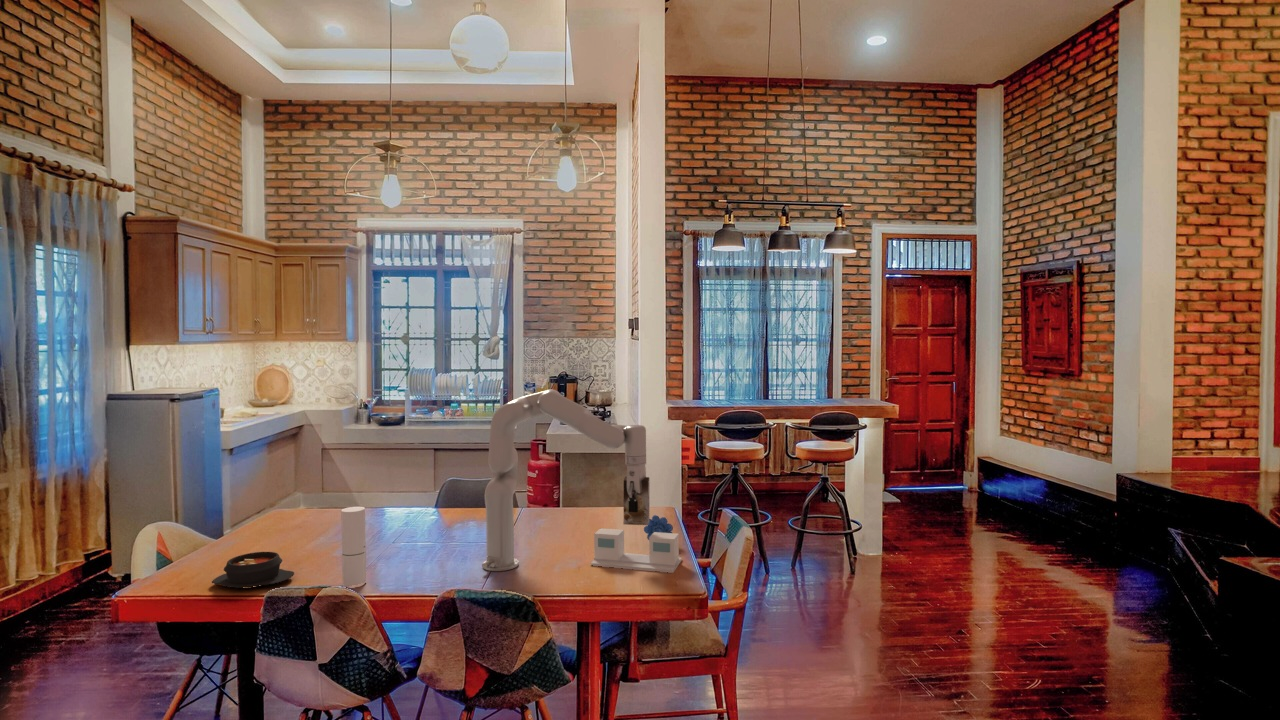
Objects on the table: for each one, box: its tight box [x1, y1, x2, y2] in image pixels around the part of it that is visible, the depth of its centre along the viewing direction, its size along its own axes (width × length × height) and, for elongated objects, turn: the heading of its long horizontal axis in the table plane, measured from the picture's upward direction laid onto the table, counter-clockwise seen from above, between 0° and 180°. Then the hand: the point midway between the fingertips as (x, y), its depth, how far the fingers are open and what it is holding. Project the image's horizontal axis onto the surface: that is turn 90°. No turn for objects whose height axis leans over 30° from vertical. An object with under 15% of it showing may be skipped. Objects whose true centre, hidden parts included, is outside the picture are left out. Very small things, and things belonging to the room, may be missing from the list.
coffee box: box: [623, 476, 650, 526], centre depth 239 cm, size 9×6×16 cm
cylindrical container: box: [340, 506, 367, 587], centre depth 220 cm, size 7×7×25 cm
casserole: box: [211, 551, 295, 589], centre depth 223 cm, size 25×19×8 cm
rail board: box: [590, 528, 683, 574], centre depth 239 cm, size 14×30×11 cm, turn 74°
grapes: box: [643, 514, 674, 541], centre depth 259 cm, size 12×7×12 cm, turn 92°
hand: (636, 509), depth 239 cm, fingers closed on coffee box, 7 cm apart
